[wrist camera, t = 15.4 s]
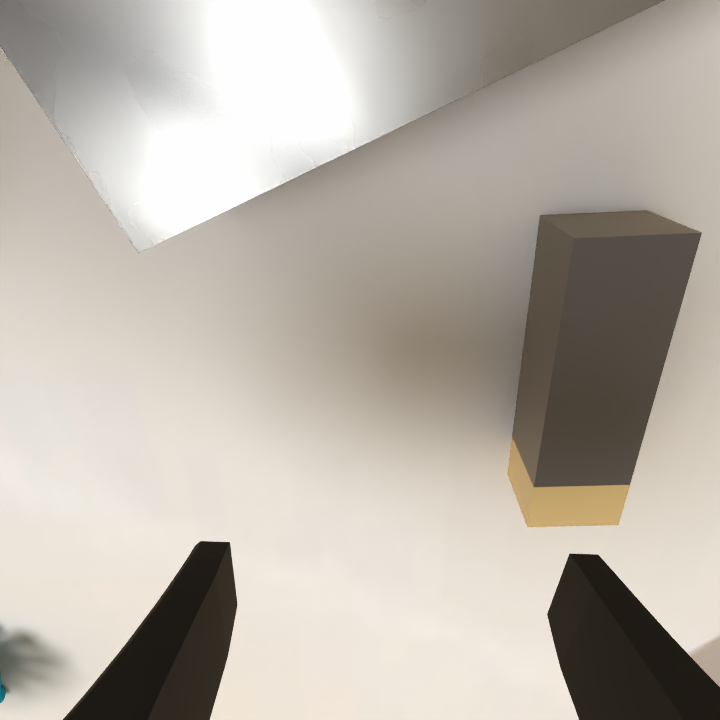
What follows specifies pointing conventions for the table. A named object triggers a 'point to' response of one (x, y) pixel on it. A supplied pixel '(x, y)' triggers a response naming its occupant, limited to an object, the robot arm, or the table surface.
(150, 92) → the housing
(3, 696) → the spiky virus model
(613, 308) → the grey rectangular bar
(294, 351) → the table surface
